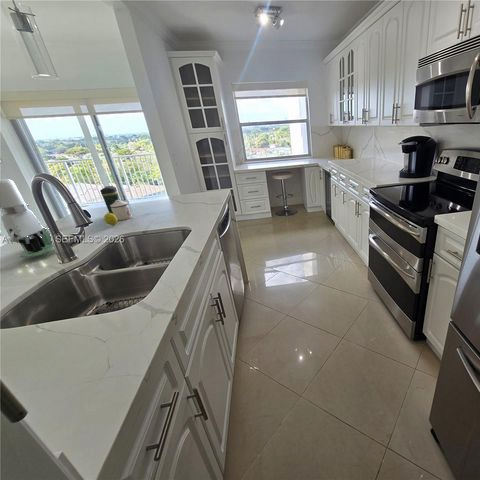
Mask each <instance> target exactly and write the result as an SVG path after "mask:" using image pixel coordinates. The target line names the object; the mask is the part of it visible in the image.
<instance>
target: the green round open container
mask: <svg viewBox="0 0 480 480" xmlns="http://www.w3.org/2000/svg"><path fill="white" fill-rule="evenodd" d="M44 228H45V231H44V232H43V235H42V236H43V238H42V240H43V242H44V244H45V245H52V241H51V236H50V233H49V231H48V229H49V228H48V229H47V228H46V227H44ZM29 237H33V236H32V235H29V236H28V238H29ZM17 239H19V238H18V237H17ZM23 239H24V238H23ZM19 245H20V246H21V248H22V249H23V251H26V248H25V246H24V245H23V244H21V243H19Z"/></svg>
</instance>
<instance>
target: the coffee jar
mask: <svg viewBox="0 0 480 480" xmlns="http://www.w3.org/2000/svg"><path fill="white" fill-rule="evenodd" d="M99 192H100V194H101V196H102V198H103V201H104V203H105V206H106V209H107V211H108V213H112V214H113V211H112V209H111V208H110V205H112V204H113V203H114V202H115V200H119V201H122V199H121V197H120V195H119V192H118V189H117V187H116V186H113V185H105V186H104V187H103V188H101V189H100V191H99Z"/></svg>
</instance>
